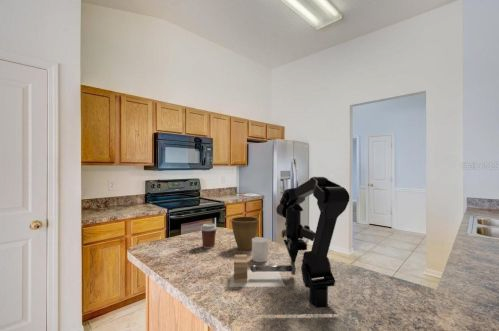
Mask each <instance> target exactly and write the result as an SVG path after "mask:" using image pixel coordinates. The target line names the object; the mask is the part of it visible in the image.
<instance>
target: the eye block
mask: <svg viewBox="0 0 499 331" xmlns="http://www.w3.org/2000/svg"><path fill="white" fill-rule="evenodd" d="M233 270H234V283H247V270H248V254H234V259H233Z"/></svg>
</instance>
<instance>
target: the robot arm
mask: <svg viewBox="0 0 499 331" xmlns="http://www.w3.org/2000/svg"><path fill="white" fill-rule="evenodd" d="M310 195H312V196H313V197H314V198H315V199H316V200H317V201H316V204H317V207H318V209H319V211H320V213H319V217H318V221H317V225H316V229H315V231H313V230H312V229H311V227H310V226H309V225H307V224H305V225H303V224H301V223H302V219H301V217H302V214H301V213H302V212H303V211H304V209H303V207H302V206H301V205H300V204H302V203H303V202H304V201H306V198H307V197H309V196H310ZM349 201H350V193H349V192H348V190H347V189H346V188H345V187H343V186H341V185H340V184H337V183H335V182H334V181H331V180H329V179H328V178H327V177H325V176H312V177H310V178H309V179H308V180H307V181H305V182H303V183H301V184H300V185H299V186H296V187H293V188H287V189H285V190H284V191H283V192H282V196H281V198H280V200H279V204H278V205H277V207H276V213H277V215H278V216H280V217H282V218H284V219H285V222H284V226H285V229H283V230H282V231H281V238H285V239H283V243H284V245H285V247H286V250H287V253H288V255H289V256H288V257H289V258H290V261H291V260H292V262H295V263H296V260H297V257H298V253H299V251H304V252H303V255H302V260H301V268H300V269H301V270H300V271H301V276H302V281H303V282H302V283H303V284H304V287H305V288H308V290H309V291H308V292H309V293H308V295H309V296H308V298H309V300H308V301H309V303H310V304H311V305H313V306H314V307H315V308H317V309H318V308H319V309H320V308H322V309H323V308H324V309H325V308H328V304H329V299H328V298H329V287H335V284H336V279H335V277H334V275H333V273H332V269H330V266H331V262H330V259H329V257H328V253H329V250H330V246H331V242H332V239H333V235H334V231H335V227H336V223H337V220H338V218H339V216H341V215H342V214H343V213H344V212H345V211H346V208H347V207H348V205H349V203H350V202H349ZM303 238H304V239H307V240H310V241H311V242H312V246H311V250H308V244H307V243H306V242H305V240H304V239H303ZM327 257H328V258H327ZM328 259H329V260H328ZM329 262H330V263H329Z"/></svg>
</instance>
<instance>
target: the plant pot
mask: <svg viewBox="0 0 499 331" xmlns="http://www.w3.org/2000/svg"><path fill="white" fill-rule="evenodd" d="M230 221H231V228H232V232H233V236H234V240H235V244H236V246H237V249H238V250H241V251H250V250H252V239H253V238H256V237H257V231H258V227H259V226H258V225H259V218H257V217H256V216H254V217H253V216H236V217H232V218H231V220H230Z"/></svg>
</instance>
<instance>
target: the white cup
mask: <svg viewBox="0 0 499 331" xmlns="http://www.w3.org/2000/svg"><path fill="white" fill-rule="evenodd" d="M251 251H252V252H251V253H252V254H251V255H252V260H253V262H257V263H264V262H266V261H268V255H269V239H268V238H267V237H262V236H261V237H260V236H259V237H258V236H256V237H255V238H253V239H252V249H251Z"/></svg>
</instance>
